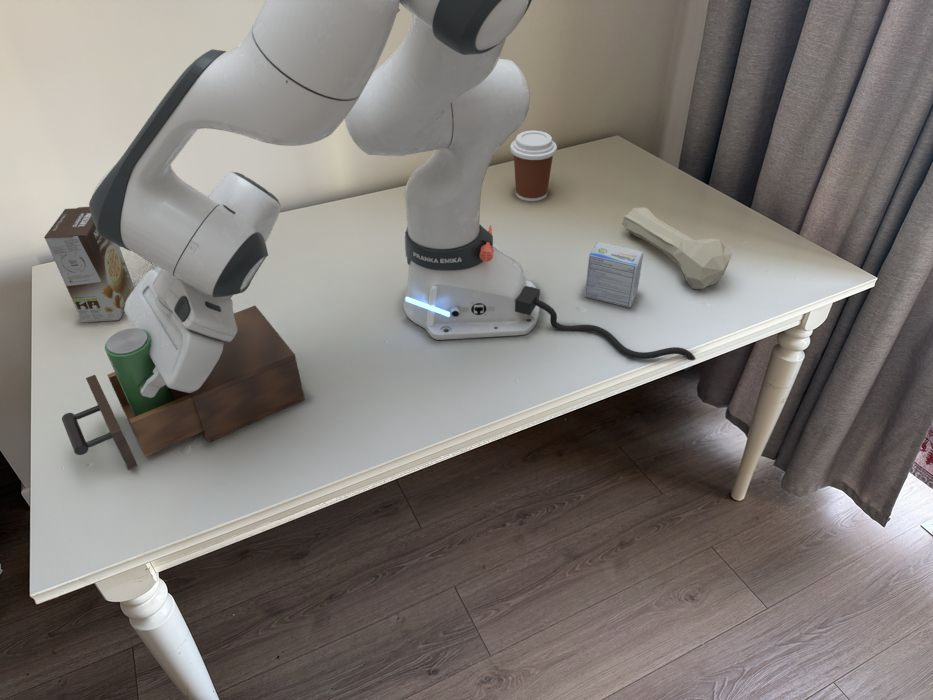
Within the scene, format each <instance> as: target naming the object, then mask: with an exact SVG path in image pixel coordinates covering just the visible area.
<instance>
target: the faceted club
mask: <svg viewBox="0 0 933 700" xmlns="http://www.w3.org/2000/svg"><path fill="white" fill-rule="evenodd" d="M621 225H622V226H623V227H624V228H625V229H626V230H628V232H629V233H631V234H632V235H633V236H635V237H637V238H639V239H641V240H643V241H646V242H647V243H648V244H650V245H651V246H653V247H655V248H657V249H658V250H659V251H661V252H663V253H664V254H665V255H666V256H667V257H668V258H669V259H670V260H672V261H673V262H674V263H675V264H676V265H677V266H678V267H679V268H680V269H681V271H682V273H683V275H684V277H685V280H686V282H687V284H688V286H690V287H691V289H692V290H704V289H705V288H707V287H710V286H713V285H716V283H717V282H718V281H719V280H720V279H721V278H722V277H723V276H724V275H725V272H726V270H727V268H728V266H729V263H730V261H731V258H732V256H733V251H732V249H731V247H728V246H727V247H726V246H725V245H724V243H723V242H722V240H721V239H718V238H717V239H716V238H705V239H697V240H695V239H693V238H692V237H690V236H689V235H686V234H685V233H683V232H681V231H679V230H678V229H676V228H674V227H672V226H670V225H669V224H667V223H665V222H664V221H662V220H660V219H659V218H657V217H656V216H655V215H654V214H653V213H652V211H651V210H650V209H649V208H648V207H633V208H632V209H631V210H630V211H629V212H627V213H626V214H625V215H624V216H623V218H622V221H621Z"/></svg>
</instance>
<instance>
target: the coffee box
mask: <svg viewBox="0 0 933 700" xmlns="http://www.w3.org/2000/svg"><path fill="white" fill-rule="evenodd" d="M43 238H44V239H45V242H46V244H47V247H48V249H49V251H50V253H51V255H52V257H53V260H54V262H55V264H56V267H57V269H58V271H59V274H60V276H61V278H62V280H63V282H64V285H65V287H66V289H67V291H68V294H69V296H70V298H71V301H72V303H73V305H74V308H75V309H76V312H77V314H78V317H79V318H80V321H81V323H95V322H109V321H110V322H112V321H120V320H121V318H122V316H123V315H124V313H125V312H124V307H125V303H126V300H127V298H128V297H129V295H130V294H131V292H132V291H133V290H134V288H135V284H134V283H133V280H132V277H131V274H130V271H129V269H128V267H127V264H126V260H125V259H124V256H123V253H122V251H121V246H119V245H117V244H115V243H113V242H111V241H109V240H107V239H105V238H103V237H101V236H100V235H99V233H98V231H97V229H96V227H95V224H94V222H93V219H92V216H91V212H90V208H89V206H79V207H76V208H75V207H74V208H71V207H70V208H64V209H63V211H62V212H61V213H60V214H59V216H58V218H57V219H56V221H55V222H54V223H53V224H52V226H51V227H50V229H48V231H47V233H46V234H45V235H44V237H43Z"/></svg>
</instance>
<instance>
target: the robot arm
mask: <svg viewBox="0 0 933 700" xmlns="http://www.w3.org/2000/svg"><path fill="white" fill-rule="evenodd" d="M532 1H533V0H264V2H263V4H262V6H261V7H260V10H259V11H258V14H257V15H256V17H255V20H254V22H253V24H252V26H251V27H250V28H251V29H250V30H249V32H248V33H247V35H246V37H245V38H244V39H243V40H242V41H241V42H240V43H239V44H238V45H237V46H235V47H234V48H232V49H230V50H221V49H214V48H212V49H210V50H207V51H206V52H204V53H203V54H201V55H200V56H199V57H197V58H196V59H195V60H194V61H193V62H192V63H191V64H190V65H189V66H188V67H186V68H185V70H184V71H183V72H182V73H181V74H180V76H179V77H178V78H177V79H176V80H175V82H174V83H173V84H172V86H171V87H170V88H169V90H168V91H167V93H165V95H164V96H163V98H162V99H161V100H160V102H159V103H158V104H157V106H156V107H155V109H154V110H153V112H152V113H151V115H150V116H149V117H148V119H147V120H146V122H145V123H144V124H143V126H142V127H141V129H140V130H139V131H138V133H137V135H135V137H134V139H133V140H132V142H131V143H130V144H129V146H128V147H127V149H126V151H124V153H123V154H122V156H121V157H120V158H119V159H118V160H117V162H116V164H114V165H113V166H112V167H111V168H110V169H109V170H107V172H106V173H105V174H104V175H103V176H102V177H101V178H100V180H99V182H98V183H97V184H96V186H95V188H94V190H93V192H92V194H91V197H90V200H89V202H88V207H89V208H90V212H91V216H92V219H93V222H94V224H95V227H96V229H97V231H98V233H99V235H100V236H101V237H103V238H105V239H107V240H109V241H111V242H113V243H115V244H117V245H119V247H120V248H123V249H125V250H127V251H129V252H132V253H134V254H136V255H138V256H139V257H141V258H143V259H144V260H146V261H147V262H148V263H151V264H152V265H154V266H155V267H154V269H150V270H148V271H147V272H146V273H145V274H143V276H142V277H141V279H140V280H139V281H138V282H137V284H136V285H135V286H134V290H133V291H132V292H131V294H130V295H129V297H128V298H127V300H126V303H125V307H124V312H123V313H125V315H126V317H127V319H128V320H129V322H130V324H131V326H132V327H133V328H137V329H142V330H145V331H147V332H148V333H149V334H150V337H151V345H150V351H149V355H150V357H151V359H152V361H153V362H154V364H155V366H156V367H155V368H154V370H153V373H154V375H152V376H151V377H150V378H149V379H146V378H144V379H143V380H142V382H141V384H140V385H139V387H138V388H139V390H140V392H141V394H142V396H145V397H149V398H152V397H154V396H155V395H156V393H157V392H158V390H159V389H160V388H161V387H163V386H164V385H167V387H169V388H171V389H174V390H178V391H182V392H186V393H192V392H194V391H196V390H198V389H199V388H200V387H201V386H202V385H203V383H204V382H205V380H206V379H207V377H208V376H209V374H210V373H211V371H212V370H213V368H214V367H215V365H216V363H217V362H218V360H219V358H220V356H221V354H222V351H223V341H226V342H231V341H232V340H233V338H234V337H235V335H236V333H237V325H236V322H235V318H234V313H235V312H234V304H233V303H234V301H233V299H232V297H234V295H238V294H243V293H244V292H245V291H247V290H248V289H249V287H250V285H251V283H252V281H253V279H254V277H255V275H256V274H257V272H258V270H259V269H260V268H261V266H262V265H263V263H264V261H265V260H266V259H267V258H268V256H269V252H268V248H267V241H268V239H269V237H270V235H271V233H272V231H273V228H274V227H275V225H276V222H277V220H278V217H279V215H280V212H281V209H282V204H281V203H280V201H279V199H278V198H277V196H276V195H274V194H273V193H272V192H270V191H268V190H267V189H266V188H264V187H263V186H262V185H260V184H258V183H257V182H256V181H254V180H253V179H251V178H250V177H248V176H245V175H244V174H242V173H240V172H235V171H228V172H227V173H226V174H225V175H224V176H223V177H222V178H221V179H220V180H219V182H218V183H217V184H216V185H215V186H214V188H213V189H212V191H211V192H210V193H209V194H208V195H206V194H204V193H203V192H201V191H200V190H198V189H197V188H195V187H194V186H193V185H190V184H189V183H187V182H186V181H185V180H183V179H182V178H181V177H180V176H178V175H177V174H176V172H175V171H174V169H173V167H172V164H173V163H174V161H175V160H176V159H177V157H178V156H179V154H180V153H181V152H182V151H183V149H185V147H186V145H188V143H189V142H190V140H191V139H192V138H193V136H194V135H195V133H197V132H198V130H203V129H204V130H205V129H207V130H208V129H211V130H218V131H223V132H227V133H233V134H237V135H239V136H243V137H247V138H249V139H253V140H256V141H258V142H262V143H265V144H270V145H276V146H284V147H286V146H287V147H297V146H298V147H299V146H306V145H311V144H314V143H317V142H320V141H322V140H324V139H326V138H328V137H329V136H331V135H332V134H333V133H334V132H336V130H337V129H338V127H339V126H340V125H341V124H342V123H343V122H345V127H346V130H347V132H348V135H349V136H350V138H351V140H352V141H353V143H354V144H355V145H356V147H358V149H360V150H361V151H362V152H363V153H365V154H367V156H379V157H380V156H381V157H404V156H408V155H414V154H420V153H425V152H432V151H434V152H433V154H431V156H430V157H429V158H428V159H427V160H426V161H424V162H423V163H422V164H421V165H419V166H418V167H417V168H416V169H415V170H414V171H413V172H412V173H411V174H410V176H409V178H408V180H407V183H406V186H405V188H404V189H405V190H404V199H405V200H404V201H405V214H406V230H405V232H404V250H405V251H404V252H405V257H406V262H407V265H408V272H407V273H408V275H407V284H406V289H405V290H406V291H405V294H404V298H403V302H402V307H403V312H404V313H405V315H406V316H407V318H408V319H409V320H410V321H412V323H414V324H416V325H418V326H419V327H421V328H423V329H424V330H425V331H426V332H427V334H428V335H429V336H430V337H431V338H432V339H433V340H438V341H439V340H440V341H441V340H442V341H443V340H445V341H446V340H460V339H461V340H462V339H478V338H495V337H513V336H525V335H527V334H529V333H530V332H531V331H532V330H533V329H534V328H535V326H536V325H537V323H538V320H539V317H540V312H541V311H540V310H541V309H542V310H543V311H545V312H547V314H548V315H549V316H550V319H549V320H550V325H551V327H553V328H554V329H555V330H556V331H560V332H591V333H596V334H599V335H601V336H602V337H604V338H605V339H607V340H608V341H609V342H610V344H611V345H612V346H614V348H615V349H617V351H619V352H620V353H622V354H624V355H625V356H627V357H630V358H632V359H633V358H634V359H637V360H638V359H639V360H648V359H649V360H650V359H656V358H660V357H663V356H668V355H681V356H683V357H685V358H686V359H688V360H690V361H695V360H696V356H695V355H694V354H693V353H692V352H691V351H690V350H688V349H686V348H684V347H680V346H679V347H677V346H675V347H674V346H673V347H666V348H662V349H658V350H652V351H644V352H643V351H642V352H641V351H634V350H632V349H629V348H627V347H626V346H624V345H623V344H622V343H621V342H620V341H619V340H618V339H617V338H616V337H615V336H614V335H613V334H612V333H611V332H609V331H608V330H607V329H604V328H603V327H600V326H599V325H594V324H578V325H566V324H565V325H564V324H561V323H559V322H558V321H557V320H558V315H557V312H556V310H555V309H554V308H553V307H552V306H551V305H550V304H548V303H546V302H544V301H542V300H541V299H540V294H541V289H540V288H537V286H536V285H535V284H534V283H533V282H532V281H530V280H528V279H526V275H525V272H524V269H523V267H522V265H521V264H520V262H519V261H517V260H516V259H515V258H512V257H511V256H509V255H508V254H506V253H505V252H503V251H501V250H500V249H498V248H497V247H495V246H494V236H493V229H492V225H491V224H489V226H488V230H487V229H486V228H485V227H484V226H482V224H480V223H481V222H480V221H481V199H482V188H483V184H484V180H485V176H486V174H487V171H488V169H489V166H490V165H491V163H492V162H493V159H494V157H495V156H496V154H497V152H498V151H499V150H500V148H501V147H502V145H503V144H504V143H505V142H506V141H507V140H508V139H509V137H511V135H513V134H514V133H515V132H516V131H518V130H519V129H520V127H522V125H523V123H524V121H525V120H526V118H527V115H528V112H529V108H530V102H531V93H530V87H529V84H528V80H527V78H526V76H525V74H524V72H523V71H522V70H521V68H520V67H519V66H518V65H517V63H515V62H514V61H512V60H511V59H506V58H501V55H502V52H503V48H504V45H505V43H506V41H507V38H508V37H509V36H510V35H511V34H512V33H513V32H514V31H515V29H516V28H517V27H518V25H519V24H520V23H521V21H522V19H523V18H524V16H525V15H526V13H527V11H528V10H529V7H530V5H531V3H532ZM400 5H401V6H402V7H403V8H405V10H407V11H408V12H409V13H410V14H411V19H410V23H409V26H408V30H407V32H406V35H405V36H404V38H403V40H402V41H401V43H400V44H399V45H398V46H397V48H396V49H395V50H394V51H393V53H392V54H391V55H390V56H388V58H387V59H386V60H385V61H384V62H383V63H382V64H380V65H379V66H378V63H379V61H380V59H381V57H382V55H383V53H384V50H385V48H386V45H387V42H388V41H389V38H390V35H391V32H392V30H393V26H394V23H395V22H396V21H395V20H396V18H397V15H398V13H399V12H400V11H401V9H400ZM377 66H378V67H377Z"/></svg>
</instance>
